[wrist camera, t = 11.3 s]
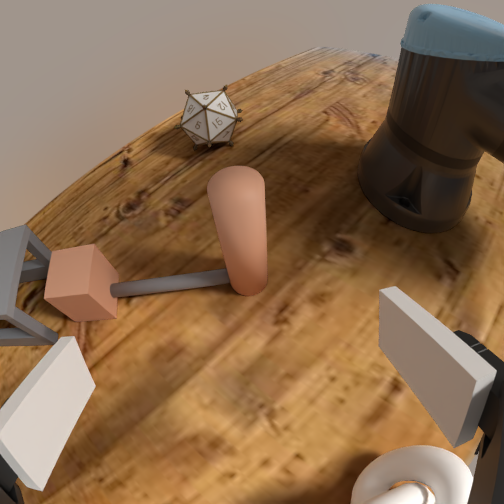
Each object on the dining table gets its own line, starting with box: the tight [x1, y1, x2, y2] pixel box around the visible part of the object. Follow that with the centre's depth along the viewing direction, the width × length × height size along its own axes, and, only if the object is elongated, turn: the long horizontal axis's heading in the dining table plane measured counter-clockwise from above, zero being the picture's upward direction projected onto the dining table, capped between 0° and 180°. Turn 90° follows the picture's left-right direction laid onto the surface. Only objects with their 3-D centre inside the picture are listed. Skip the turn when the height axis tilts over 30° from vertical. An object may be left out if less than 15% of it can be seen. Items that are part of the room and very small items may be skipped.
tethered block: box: [44, 166, 268, 322], centre depth 25 cm, size 20×5×13 cm, turn 97°
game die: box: [174, 85, 243, 150], centre depth 39 cm, size 9×8×10 cm
